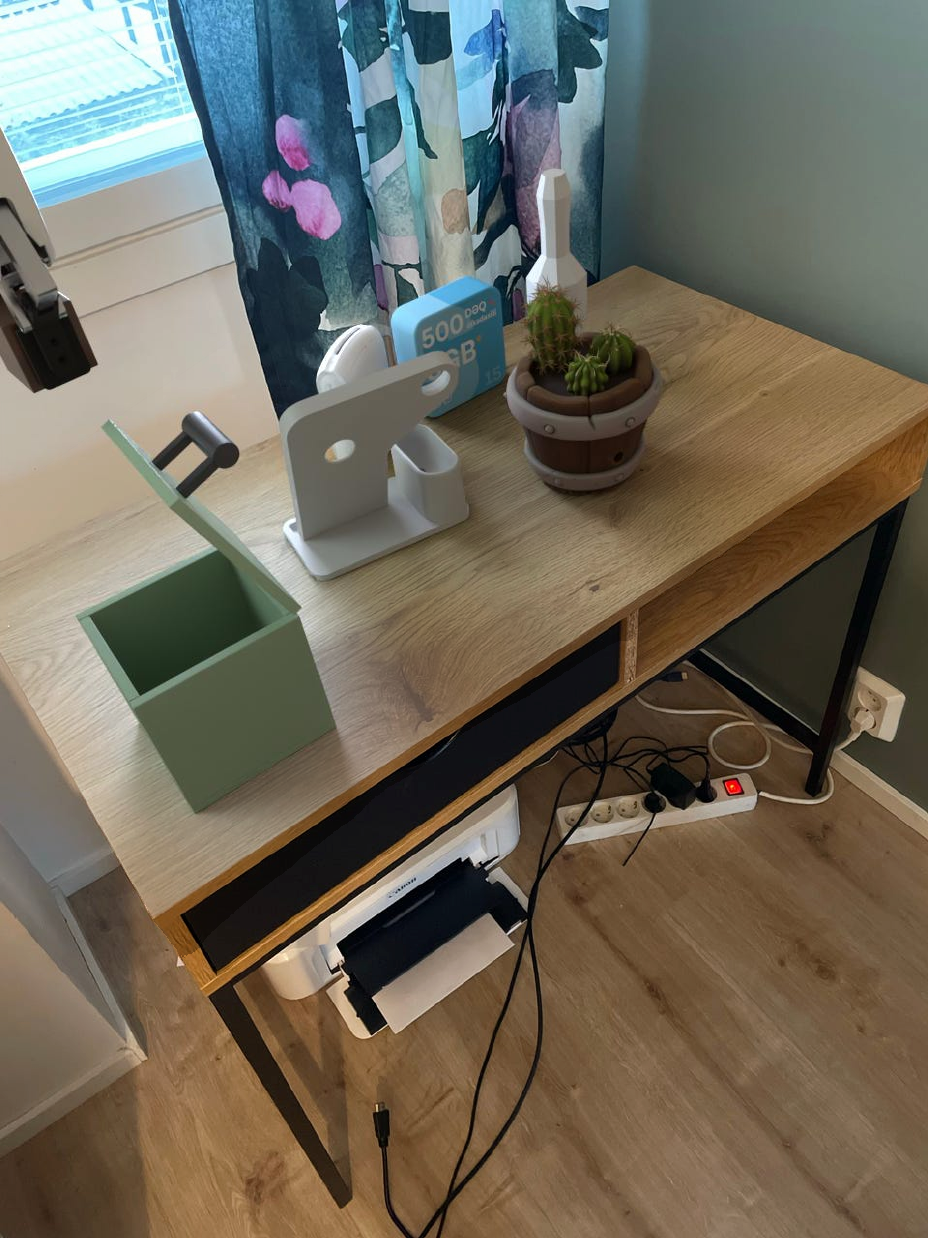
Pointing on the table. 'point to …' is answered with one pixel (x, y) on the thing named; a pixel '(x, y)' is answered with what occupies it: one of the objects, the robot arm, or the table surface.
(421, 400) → the phone holder
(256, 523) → the table surface
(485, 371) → the data package
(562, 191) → the low poly bottle
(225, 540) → the green box lid
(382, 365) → the photo printer
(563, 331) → the flowerpot
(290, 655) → the box
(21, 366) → the block
